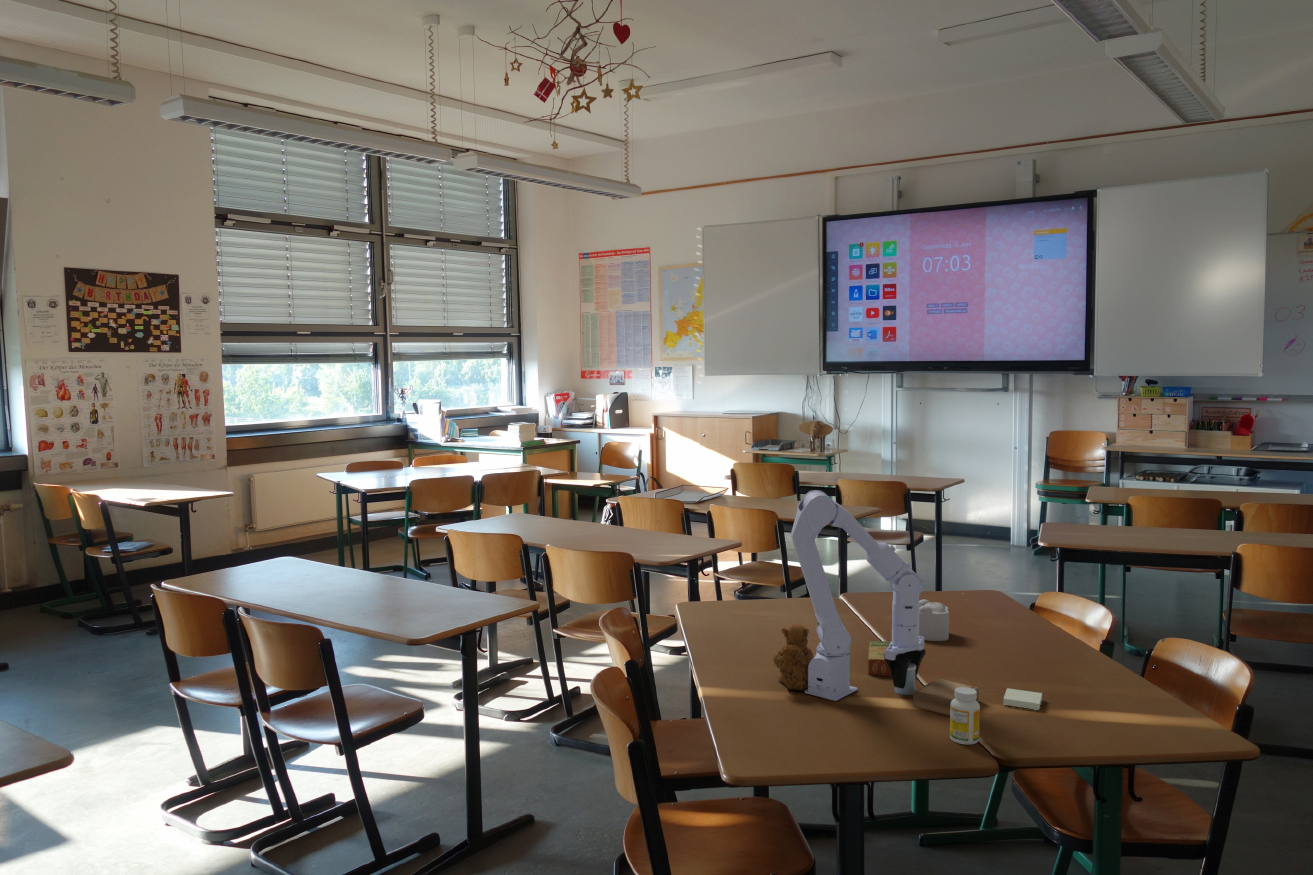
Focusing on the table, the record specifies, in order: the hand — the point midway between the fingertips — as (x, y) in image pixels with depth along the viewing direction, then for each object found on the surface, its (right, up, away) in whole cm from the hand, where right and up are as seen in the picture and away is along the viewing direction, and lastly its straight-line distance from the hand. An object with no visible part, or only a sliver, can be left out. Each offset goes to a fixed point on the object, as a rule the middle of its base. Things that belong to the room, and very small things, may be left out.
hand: (904, 684), depth 204 cm
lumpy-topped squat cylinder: (+17, +1, +44) cm, 47 cm away
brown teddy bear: (-23, -2, +5) cm, 23 cm away
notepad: (+23, -3, -7) cm, 24 cm away
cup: (0, -2, 0) cm, 2 cm away
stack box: (+7, -2, -7) cm, 10 cm away
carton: (0, -1, +18) cm, 19 cm away
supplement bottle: (+4, -4, -27) cm, 27 cm away
